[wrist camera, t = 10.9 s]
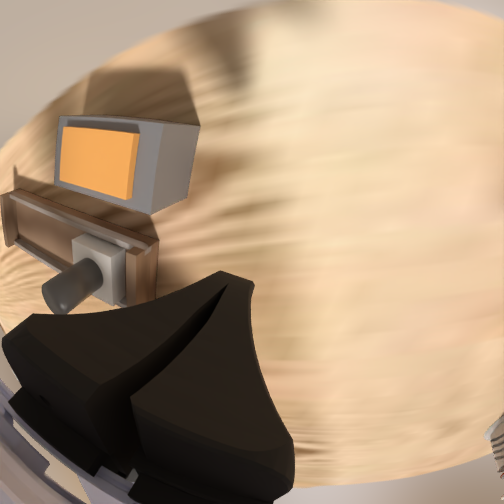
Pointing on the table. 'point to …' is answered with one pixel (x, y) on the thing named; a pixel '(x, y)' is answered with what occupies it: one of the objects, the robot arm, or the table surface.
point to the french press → (497, 443)
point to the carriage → (88, 275)
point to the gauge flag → (99, 159)
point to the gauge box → (143, 159)
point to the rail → (69, 227)
